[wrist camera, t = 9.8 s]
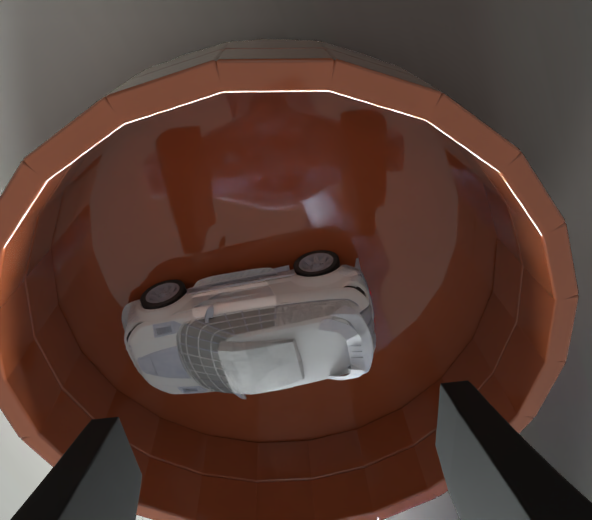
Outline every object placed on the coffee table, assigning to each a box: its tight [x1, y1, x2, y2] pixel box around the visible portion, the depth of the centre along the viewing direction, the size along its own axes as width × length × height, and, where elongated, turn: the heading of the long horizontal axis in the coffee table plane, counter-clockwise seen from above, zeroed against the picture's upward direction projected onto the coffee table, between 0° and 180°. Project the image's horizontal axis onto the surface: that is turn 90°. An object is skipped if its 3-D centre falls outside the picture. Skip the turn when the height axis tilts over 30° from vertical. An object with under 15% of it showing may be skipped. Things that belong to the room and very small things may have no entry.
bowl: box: [0, 39, 579, 520], centre depth 14 cm, size 15×15×4 cm
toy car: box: [122, 250, 376, 399], centre depth 14 cm, size 4×8×3 cm, turn 102°
